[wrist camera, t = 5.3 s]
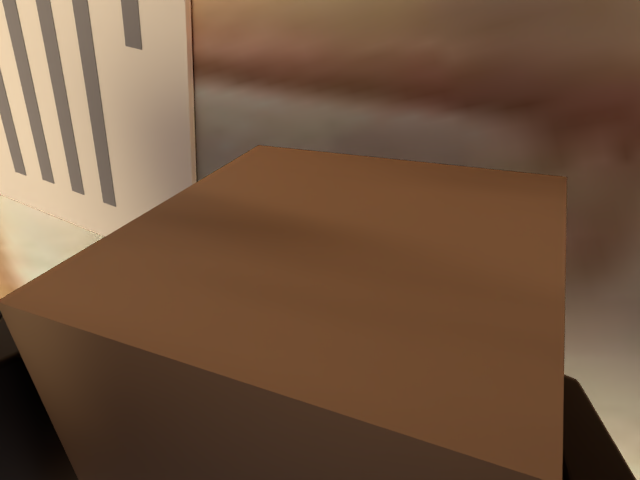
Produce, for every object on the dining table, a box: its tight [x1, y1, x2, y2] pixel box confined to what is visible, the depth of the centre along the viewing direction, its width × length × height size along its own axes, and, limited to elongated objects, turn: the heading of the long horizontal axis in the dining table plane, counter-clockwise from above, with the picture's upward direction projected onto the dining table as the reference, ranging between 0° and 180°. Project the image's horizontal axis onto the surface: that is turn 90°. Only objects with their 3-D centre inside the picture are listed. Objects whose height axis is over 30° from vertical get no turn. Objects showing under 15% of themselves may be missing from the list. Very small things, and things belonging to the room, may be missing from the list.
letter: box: [0, 0, 197, 237], centre depth 13 cm, size 12×9×1 cm
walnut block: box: [0, 145, 567, 480], centre depth 7 cm, size 5×5×5 cm
